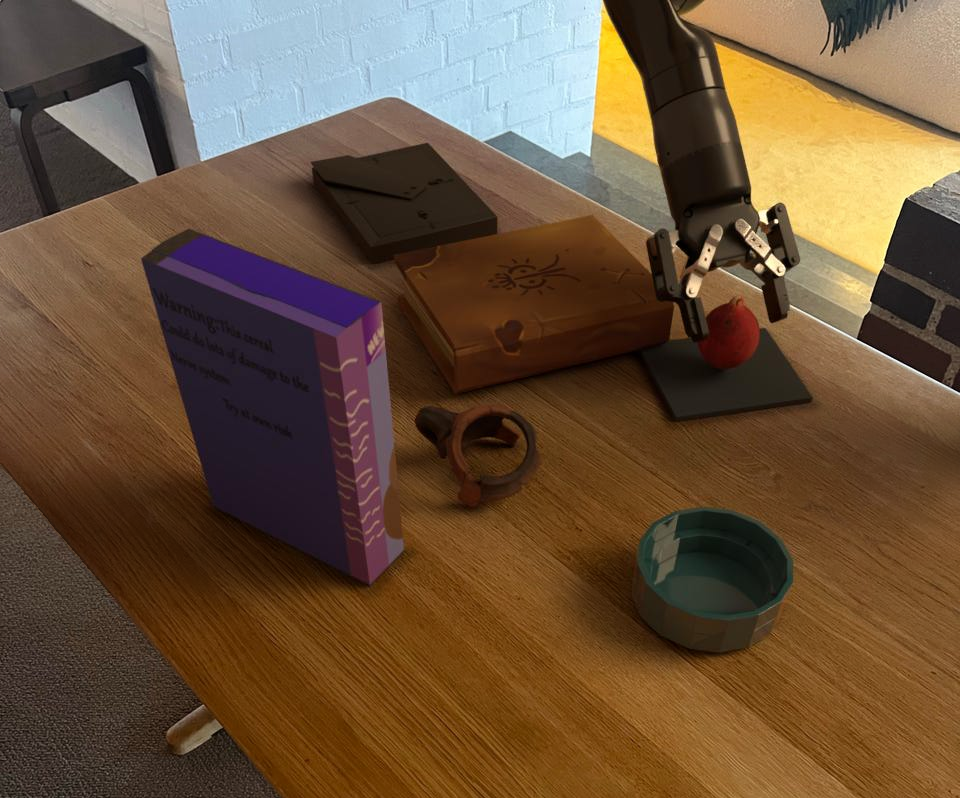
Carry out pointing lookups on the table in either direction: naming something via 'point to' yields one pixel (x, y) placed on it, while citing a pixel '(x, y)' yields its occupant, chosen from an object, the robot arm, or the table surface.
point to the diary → (530, 302)
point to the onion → (730, 335)
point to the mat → (722, 380)
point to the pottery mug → (470, 425)
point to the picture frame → (402, 201)
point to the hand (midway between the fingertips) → (740, 330)
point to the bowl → (711, 579)
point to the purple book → (284, 399)
